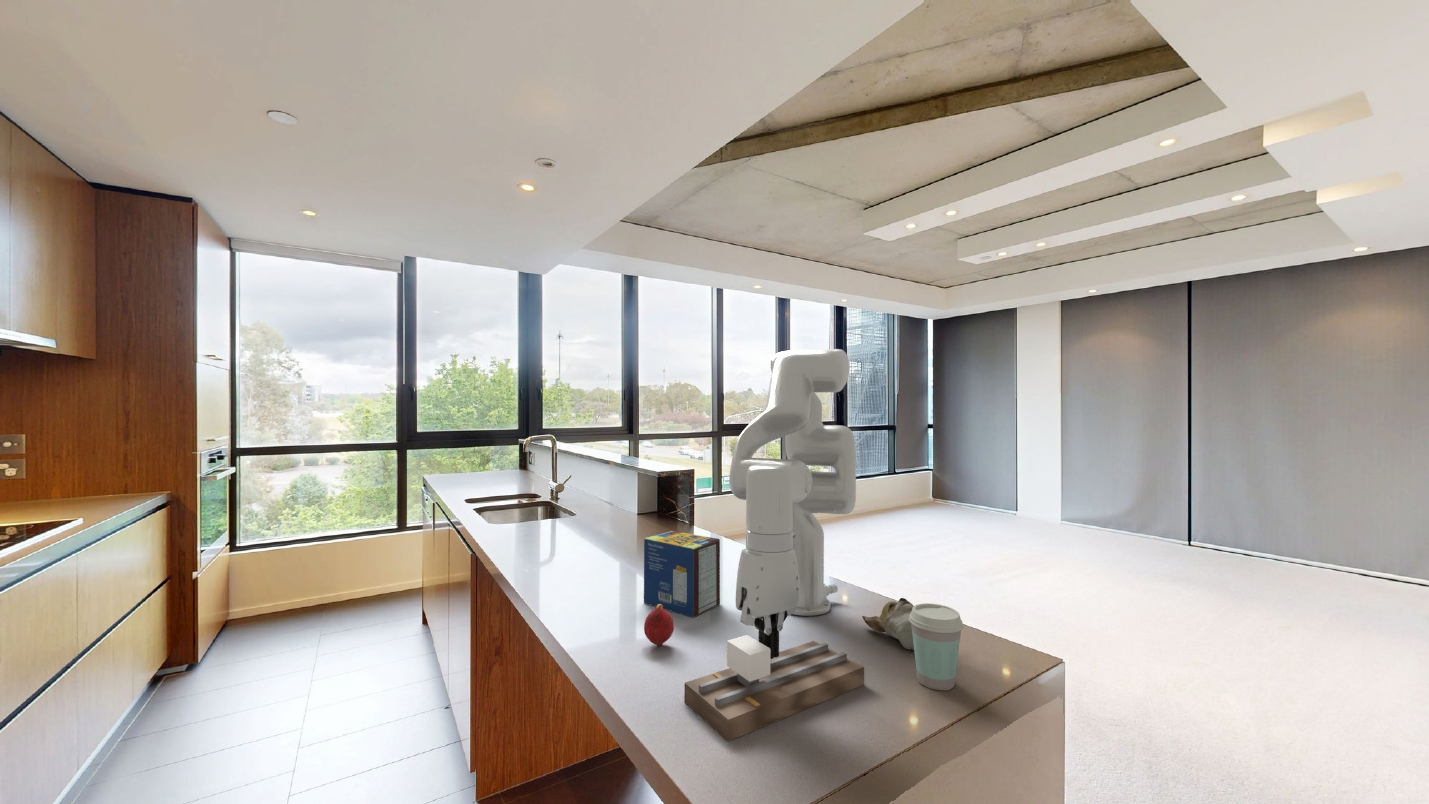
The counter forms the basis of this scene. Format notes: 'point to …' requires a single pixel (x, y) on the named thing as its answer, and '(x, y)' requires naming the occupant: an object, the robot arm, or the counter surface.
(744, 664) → the white block
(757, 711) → the linear slide rail
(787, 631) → the counter surface
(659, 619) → the onion
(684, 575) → the protein box
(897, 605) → the ceramic sculpture
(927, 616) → the coffee cup
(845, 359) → the robot arm
